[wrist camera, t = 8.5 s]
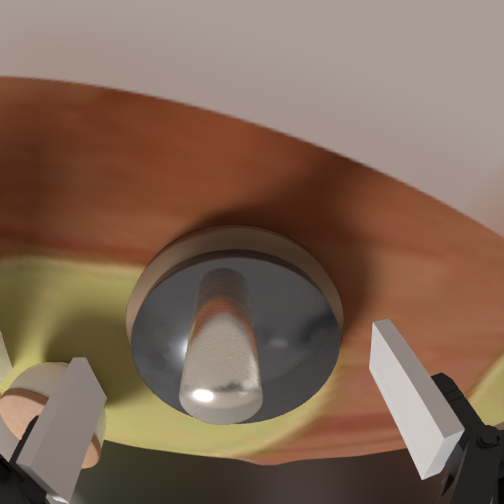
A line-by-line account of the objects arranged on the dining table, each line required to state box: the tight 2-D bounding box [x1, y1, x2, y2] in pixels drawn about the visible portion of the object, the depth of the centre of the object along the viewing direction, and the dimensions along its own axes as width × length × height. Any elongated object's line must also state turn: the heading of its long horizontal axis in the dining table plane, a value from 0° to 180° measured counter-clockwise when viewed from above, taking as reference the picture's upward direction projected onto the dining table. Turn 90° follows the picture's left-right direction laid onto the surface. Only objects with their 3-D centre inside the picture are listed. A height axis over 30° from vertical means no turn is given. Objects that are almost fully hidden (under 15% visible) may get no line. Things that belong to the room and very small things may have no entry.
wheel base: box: [126, 225, 344, 347], centre depth 25 cm, size 17×17×2 cm
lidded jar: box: [0, 362, 106, 468], centre depth 23 cm, size 11×11×9 cm
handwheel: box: [131, 249, 340, 425], centre depth 18 cm, size 15×15×11 cm
